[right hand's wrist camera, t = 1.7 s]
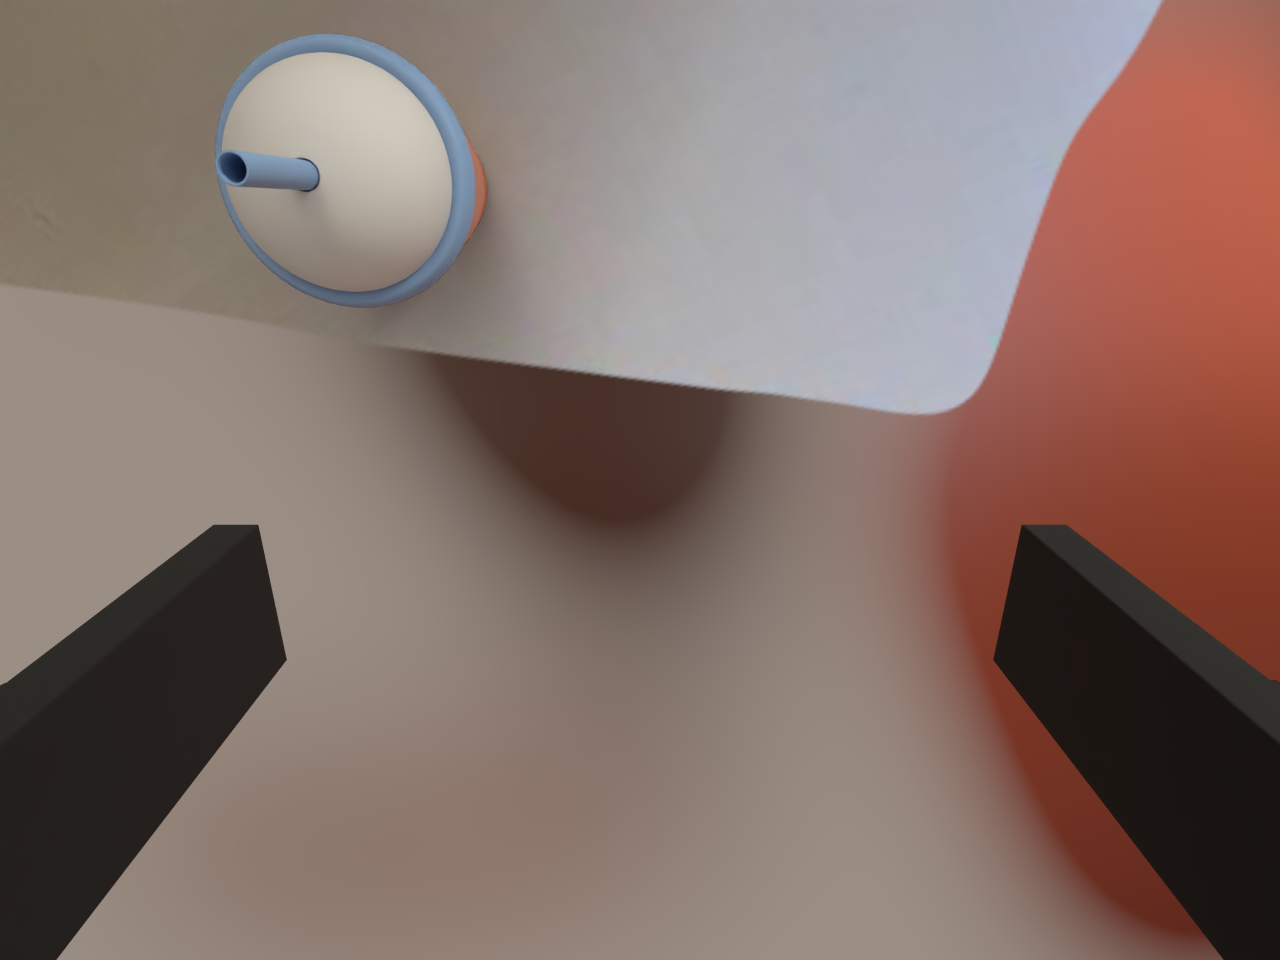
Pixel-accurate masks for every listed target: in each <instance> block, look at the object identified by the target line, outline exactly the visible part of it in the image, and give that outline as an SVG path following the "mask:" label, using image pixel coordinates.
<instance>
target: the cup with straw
mask: <svg viewBox="0 0 1280 960" xmlns="http://www.w3.org/2000/svg"><path fill="white" fill-rule="evenodd" d="M215 157H216V161H215V169H216V172H217V176H218V181H219V185H220V190H221V193H222V196H223V199H224V202H225V205H226V208H227V210H228V212H229V215H230V217H231V219H232V221H233V223H234V225H235V227H236V229H237V230H238V232H239V233H240V235H241V237H242V238H243V240H244V241H245V243H246V244H247V245H248V246H249V248H250V249H251V250H252V252H253V253H254V254H255V255H256V256H257V257H258V258H259V260H260V261H261V262H262V263H263V264H264V265H265V266H267V267H268V268H269V269H270V270H271V271H272V272H273V273H274V274H276V275H277V276H278V277H279V278H281V279H282V280H283V281H285V282H286V283H288V284H289V285H291V286H292V287H294V288H296V289H298V290H299V291H301V292H303V293H305V294H307V295H310V296H312V297H314V298H317V299H320V300H322V301H325V302H328V303H333V304H337V305H341V306H348V307H362V308H367V307H380V306H386V305H390V304H394V303H398V302H401V301H404V300H406V299H409V298H411V297H413V296H415V295H417V294H419V293H421V292H422V291H424V290H425V289H427V288H428V287H430V286H431V285H432V284H434V283H435V282H436V281H437V280H438V279H439V278H440V277H441V276H442V275H443V274H444V273H445V272H446V271H447V270H448V269H449V268H450V266H451V265H452V264H453V262H454V261H455V259H456V258H457V256H458V255H459V253H460V251H461V249H462V247H463V245H464V244H465V243H466V242H467V241H468V239H469V238H470V236H471V235H472V233H473V232H474V230H475V228H476V227H477V225H478V224H479V222H480V219H481V217H482V215H483V212H484V208H485V203H486V194H487V190H486V179H485V174H484V171H483V167H482V165H481V162H480V160H479V158H478V156H477V154H476V152H475V150H474V148H473V146H472V144H471V143H470V141H469V139H468V138H467V136H466V135H465V133H464V132H463V129H462V127H461V125H460V123H459V121H458V119H457V117H456V115H455V113H454V111H453V110H452V108H451V107H450V105H449V103H448V102H447V100H446V99H445V98H444V97H443V95H442V94H441V93H440V91H439V90H438V89H437V88H436V87H435V85H434V84H433V83H432V82H431V81H430V80H429V79H428V78H427V77H426V76H425V75H424V74H423V73H422V72H421V71H420V70H419V69H417V68H416V67H415V66H414V65H412V64H411V63H410V62H408V61H407V60H406V59H404V58H403V57H401V56H399V55H398V54H396V53H395V52H393V51H391V50H389V49H387V48H385V47H383V46H381V45H378V44H376V43H373V42H371V41H368V40H365V39H361V38H357V37H353V36H347V35H341V34H312V35H306V36H301V37H297V38H294V39H290V40H287V41H285V42H282V43H280V44H278V45H276V46H274V47H272V48H270V49H269V50H267V51H265V52H264V53H262V54H261V55H260V56H259V57H257V58H256V59H255V60H254V61H253V62H252V63H251V64H250V65H249V66H248V67H247V68H246V69H245V70H244V71H243V72H242V73H241V75H240V76H239V77H238V78H237V80H236V81H235V83H234V85H233V86H232V88H231V89H230V91H229V93H228V95H227V98H226V100H225V102H224V105H223V108H222V111H221V113H220V117H219V122H218V126H217V133H216V145H215Z"/></svg>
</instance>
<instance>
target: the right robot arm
mask: <svg viewBox="0 0 1280 960" xmlns="http://www.w3.org/2000/svg"><path fill="white" fill-rule="evenodd" d="M286 660H287V659H286V654H285V650H284V645H283V640H282V636H281V631H280V626H279V621H278V616H277V612H276V607H275V602H274V597H273V593H272V588H271V583H270V578H269V574H268V569H267V564H266V559H265V555H264V550H263V545H262V541H261V536H260V531H259V526H258V525H213V526H211V527H210V528H209V529H208V530H206V531H205V532H204V533H202V534H201V535H200V536H198V537H197V538H196V539H194V540H193V541H192V542H191V543H189V544H188V545H187V546H185V547H184V548H183V549H181V550H180V551H179V552H177V553H176V554H175V555H173V556H172V557H171V558H170V559H168V560H167V561H166V562H164V563H163V564H162V565H160V566H159V567H158V568H156V569H155V570H154V571H152V572H151V573H150V574H149V575H147V576H146V577H145V578H143V579H142V580H141V581H139V582H138V583H137V584H135V585H134V586H133V587H132V588H130V589H129V590H128V591H126V592H125V593H124V594H122V595H121V596H120V597H118V598H117V599H116V600H114V601H113V602H112V603H111V604H109V605H108V606H107V607H105V608H104V609H103V610H101V611H100V612H99V613H97V614H96V615H95V616H93V617H92V618H91V619H89V620H88V621H87V622H86V623H84V624H83V625H82V626H80V627H79V628H78V629H76V630H75V631H74V632H73V633H71V634H70V635H69V636H67V637H66V638H65V639H63V640H62V641H61V642H59V643H58V644H57V645H55V646H54V647H53V648H52V649H50V650H49V651H48V652H46V653H45V654H44V655H42V656H41V657H40V658H38V659H37V660H36V661H34V662H33V663H32V664H30V665H29V666H28V667H27V668H25V669H24V670H23V671H21V672H20V673H19V674H17V675H16V676H15V677H13V678H12V679H11V680H9V681H8V682H7V683H4V684H2V685H0V960H56V959H57V958H58V957H59V956H60V954H61V953H62V952H63V950H64V949H65V948H66V946H67V945H68V944H69V942H70V941H71V940H72V939H73V937H74V936H75V935H76V933H77V932H78V931H79V930H80V928H81V927H82V926H83V924H84V923H85V922H86V920H87V919H88V918H89V917H90V915H91V914H92V913H93V911H94V910H95V909H96V907H97V906H98V905H99V903H100V902H101V901H102V900H103V898H104V897H105V896H106V894H107V893H108V892H109V890H110V889H111V888H112V887H113V885H114V884H115V883H116V881H117V880H118V879H119V877H120V876H121V875H122V874H123V872H124V871H125V870H126V868H127V867H128V866H129V864H130V863H131V862H132V860H133V859H134V858H135V857H136V855H137V854H138V853H139V851H140V850H141V849H142V848H143V846H144V845H145V844H146V842H147V841H148V840H149V838H150V837H151V836H152V834H153V833H154V832H155V831H156V829H157V828H158V827H159V825H160V824H161V823H162V821H163V820H164V819H165V818H166V816H167V815H168V814H169V812H170V811H171V810H172V808H173V807H174V806H175V805H176V803H177V802H178V801H179V799H180V798H181V797H182V795H183V794H184V793H185V792H186V790H187V789H188V788H189V786H190V785H191V784H192V782H193V781H194V780H195V778H196V777H197V776H198V775H199V773H200V772H201V771H202V769H203V768H204V767H205V765H206V764H207V763H208V762H209V760H210V759H211V758H212V756H213V755H214V754H215V752H216V751H217V750H218V749H219V747H220V746H221V745H222V743H223V742H224V741H225V739H226V738H227V737H228V736H229V734H230V733H231V732H232V730H233V729H234V728H235V726H236V725H237V724H238V723H239V721H240V720H241V719H242V717H243V716H244V715H245V713H246V712H247V711H248V710H249V708H250V707H251V706H252V704H253V703H254V702H255V700H256V699H257V698H258V697H259V695H260V694H261V693H262V691H263V690H264V689H265V687H266V686H267V685H268V684H269V682H270V681H271V680H272V678H273V677H274V676H275V674H276V673H277V672H278V670H279V669H280V668H281V667H282V665H283V664H284V663H285V661H286ZM993 660H994V661H995V663H996V664H997V665H998V667H999V668H1000V669H1001V670H1002V672H1003V673H1004V674H1005V676H1006V677H1007V678H1008V680H1009V681H1010V682H1011V683H1012V685H1013V686H1014V687H1015V689H1016V690H1017V691H1018V693H1019V694H1020V695H1021V696H1022V698H1023V699H1024V700H1025V702H1026V703H1027V704H1028V706H1029V707H1030V708H1031V709H1032V711H1033V712H1034V713H1035V715H1036V716H1037V717H1038V719H1039V720H1040V721H1041V723H1042V724H1043V725H1044V726H1045V728H1046V729H1047V730H1048V732H1049V733H1050V734H1051V736H1052V737H1053V738H1054V739H1055V741H1056V742H1057V743H1058V745H1059V746H1060V747H1061V749H1062V750H1063V751H1064V752H1065V754H1066V755H1067V756H1068V758H1069V759H1070V760H1071V762H1072V763H1073V764H1074V766H1075V767H1076V768H1077V769H1078V771H1079V772H1080V773H1081V775H1082V776H1083V777H1084V778H1085V780H1086V781H1087V782H1088V784H1089V785H1090V786H1091V788H1092V789H1093V790H1094V792H1095V793H1096V794H1097V795H1098V797H1099V798H1100V799H1101V801H1102V802H1103V803H1104V805H1105V806H1106V807H1107V808H1108V810H1109V811H1110V812H1111V814H1112V815H1113V816H1114V818H1115V819H1116V820H1117V821H1118V823H1119V824H1120V825H1121V827H1122V828H1123V829H1124V831H1125V832H1126V833H1127V834H1128V836H1129V837H1130V838H1131V840H1132V841H1133V842H1134V844H1135V845H1136V846H1137V848H1138V849H1139V850H1140V851H1141V853H1142V854H1143V855H1144V857H1145V858H1146V859H1147V861H1148V862H1149V863H1150V864H1151V866H1152V867H1153V868H1154V870H1155V871H1156V872H1157V874H1158V875H1159V876H1160V877H1161V879H1162V880H1163V881H1164V883H1165V884H1166V885H1167V887H1168V888H1169V889H1170V890H1171V892H1172V893H1173V894H1174V896H1175V897H1176V898H1177V900H1178V901H1179V902H1180V904H1181V905H1182V906H1183V907H1184V909H1185V910H1186V911H1187V913H1188V914H1189V915H1190V917H1191V918H1192V919H1193V920H1194V922H1195V923H1196V924H1197V926H1198V927H1199V928H1200V929H1201V931H1202V932H1203V933H1204V935H1205V936H1206V937H1207V939H1208V940H1209V941H1210V943H1211V944H1212V945H1213V946H1214V948H1215V949H1216V950H1217V952H1218V953H1219V954H1220V956H1221V957H1222V958H1223V959H1224V960H1280V682H1278V681H1276V680H1269V679H1268V678H1267V677H1265V676H1264V675H1263V674H1261V673H1260V672H1259V671H1257V670H1256V669H1255V668H1253V667H1252V666H1251V665H1250V664H1248V663H1247V662H1246V661H1244V660H1243V659H1242V658H1240V657H1239V656H1238V655H1236V654H1235V653H1234V652H1232V651H1231V650H1230V649H1229V648H1227V647H1226V646H1225V645H1223V644H1222V643H1221V642H1219V641H1218V640H1217V639H1215V638H1214V637H1213V636H1212V635H1210V634H1209V633H1208V632H1206V631H1205V630H1204V629H1202V628H1201V627H1200V626H1198V625H1197V624H1196V623H1194V622H1193V621H1192V620H1190V619H1189V618H1188V617H1187V616H1185V615H1184V614H1183V613H1181V612H1180V611H1179V610H1177V609H1176V608H1175V607H1173V606H1172V605H1171V604H1170V603H1168V602H1167V601H1166V600H1164V599H1163V598H1162V597H1160V596H1159V595H1158V594H1156V593H1155V592H1154V591H1152V590H1151V589H1150V588H1149V587H1147V586H1146V585H1145V584H1143V583H1142V582H1141V581H1139V580H1138V579H1137V578H1135V577H1134V576H1133V575H1131V574H1130V573H1129V572H1128V571H1126V570H1125V569H1124V568H1122V567H1121V566H1120V565H1118V564H1117V563H1116V562H1114V561H1113V560H1112V559H1110V558H1109V557H1108V556H1107V555H1105V554H1104V553H1103V552H1101V551H1100V550H1099V549H1097V548H1096V547H1095V546H1093V545H1092V544H1091V543H1090V542H1088V541H1087V540H1086V539H1084V538H1083V537H1082V536H1080V535H1079V534H1078V533H1076V532H1075V531H1074V530H1072V529H1071V528H1070V527H1068V526H1067V525H1022V526H1021V531H1020V536H1019V540H1018V545H1017V550H1016V555H1015V559H1014V564H1013V569H1012V574H1011V579H1010V583H1009V588H1008V593H1007V597H1006V602H1005V607H1004V612H1003V616H1002V621H1001V626H1000V631H999V635H998V640H997V645H996V650H995V655H994V659H993Z"/></svg>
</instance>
